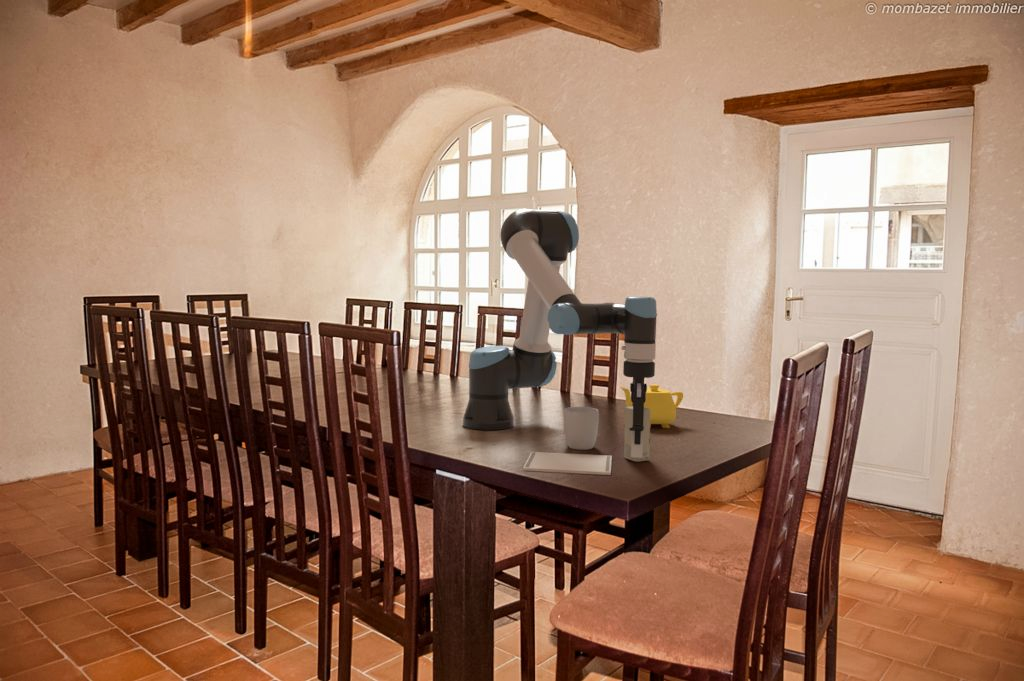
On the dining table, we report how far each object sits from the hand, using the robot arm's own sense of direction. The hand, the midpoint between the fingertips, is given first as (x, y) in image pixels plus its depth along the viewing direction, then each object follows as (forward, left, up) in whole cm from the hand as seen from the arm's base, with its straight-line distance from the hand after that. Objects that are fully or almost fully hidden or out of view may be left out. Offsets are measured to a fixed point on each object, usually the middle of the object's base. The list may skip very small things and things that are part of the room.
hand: (636, 453), depth 183 cm
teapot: (-44, +5, -2) cm, 44 cm away
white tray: (+8, -16, -1) cm, 18 cm away
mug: (-12, -15, -2) cm, 19 cm away
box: (0, 0, -2) cm, 2 cm away
